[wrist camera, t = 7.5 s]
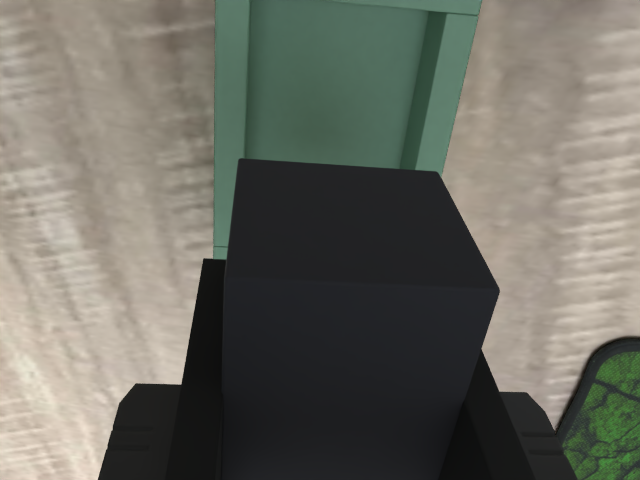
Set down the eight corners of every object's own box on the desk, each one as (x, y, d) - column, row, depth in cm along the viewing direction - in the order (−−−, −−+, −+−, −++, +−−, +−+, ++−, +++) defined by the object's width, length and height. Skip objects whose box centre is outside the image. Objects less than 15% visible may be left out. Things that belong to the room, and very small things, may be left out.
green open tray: (222, -60, 23) (215, -48, 20) (462, -35, 24) (487, -20, 21) (218, 230, 30) (212, 269, 27) (405, 239, 31) (418, 277, 28)
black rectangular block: (238, 156, 13) (223, 277, 9) (438, 170, 14) (502, 290, 10) (229, 411, 17) (216, 566, 14) (382, 415, 18) (412, 565, 14)
